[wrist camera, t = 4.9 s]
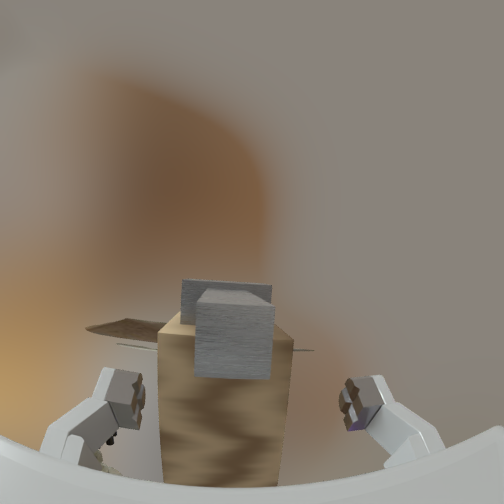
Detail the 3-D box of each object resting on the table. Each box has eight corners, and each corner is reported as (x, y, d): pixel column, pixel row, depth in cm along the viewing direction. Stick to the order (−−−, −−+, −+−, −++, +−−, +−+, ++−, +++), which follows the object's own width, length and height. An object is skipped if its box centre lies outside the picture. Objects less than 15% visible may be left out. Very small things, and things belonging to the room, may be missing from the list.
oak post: (176, 563, 16) (157, 332, 19) (183, 501, 28) (180, 311, 30) (263, 565, 17) (293, 339, 20) (250, 504, 29) (265, 316, 31)
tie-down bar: (144, 371, 11) (146, 284, 11) (186, 315, 28) (188, 278, 28) (317, 378, 11) (324, 295, 12) (260, 320, 28) (262, 283, 29)
